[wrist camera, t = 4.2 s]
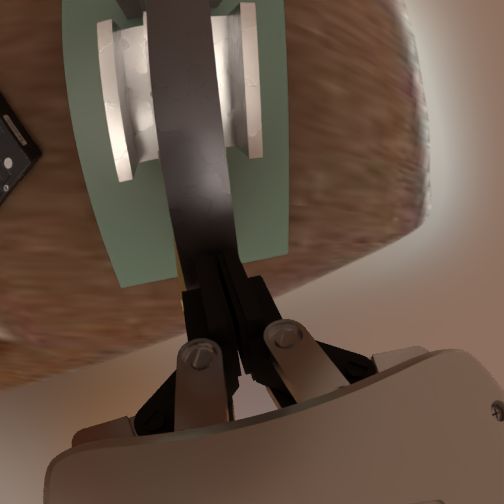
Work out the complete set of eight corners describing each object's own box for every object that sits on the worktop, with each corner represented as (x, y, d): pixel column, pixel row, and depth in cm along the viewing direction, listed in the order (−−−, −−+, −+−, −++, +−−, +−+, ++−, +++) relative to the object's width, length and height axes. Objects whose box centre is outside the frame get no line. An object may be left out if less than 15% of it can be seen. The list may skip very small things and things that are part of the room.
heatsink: (108, 40, 12) (87, 25, 8) (239, 21, 13) (264, 3, 9) (124, 158, 16) (110, 184, 12) (246, 137, 18) (271, 156, 14)
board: (68, -16, 9) (21, -56, 2) (273, -42, 11) (331, -87, 5) (122, 278, 22) (115, 357, 16) (282, 246, 25) (325, 311, 19)
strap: (145, -33, 7) (143, -53, 5) (202, -40, 7) (207, -60, 6) (190, 307, 14) (193, 329, 12) (241, 296, 14) (251, 316, 13)
